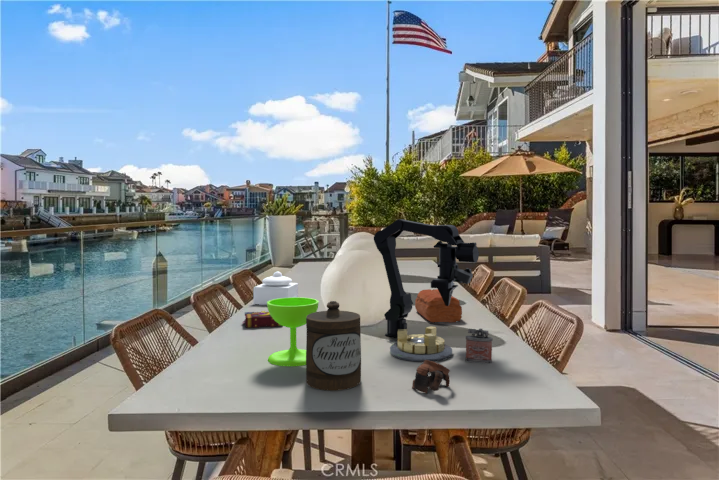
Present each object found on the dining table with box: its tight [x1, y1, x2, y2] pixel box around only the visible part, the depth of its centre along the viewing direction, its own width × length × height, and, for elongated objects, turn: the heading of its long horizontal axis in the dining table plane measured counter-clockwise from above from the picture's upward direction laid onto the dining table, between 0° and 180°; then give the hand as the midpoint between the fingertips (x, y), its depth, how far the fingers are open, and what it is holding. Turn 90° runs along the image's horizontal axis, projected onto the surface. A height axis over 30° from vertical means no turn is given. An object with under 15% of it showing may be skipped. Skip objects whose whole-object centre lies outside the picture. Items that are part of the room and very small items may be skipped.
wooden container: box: [305, 300, 362, 392], centre depth 140 cm, size 15×15×22 cm
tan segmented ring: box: [396, 326, 445, 354], centre depth 169 cm, size 17×15×6 cm
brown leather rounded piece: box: [411, 360, 451, 394], centre depth 134 cm, size 12×10×8 cm
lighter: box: [464, 328, 493, 364], centre depth 159 cm, size 8×3×10 cm, turn 71°
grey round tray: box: [389, 338, 453, 363], centre depth 168 cm, size 20×20×4 cm
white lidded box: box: [252, 271, 299, 306], centre depth 261 cm, size 18×18×16 cm
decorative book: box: [242, 310, 283, 329], centre depth 210 cm, size 11×16×5 cm
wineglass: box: [266, 296, 320, 368], centre depth 161 cm, size 16×16×18 cm
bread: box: [414, 288, 463, 323], centre depth 226 cm, size 16×27×11 cm, turn 7°
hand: (447, 305), depth 181 cm, fingers closed
